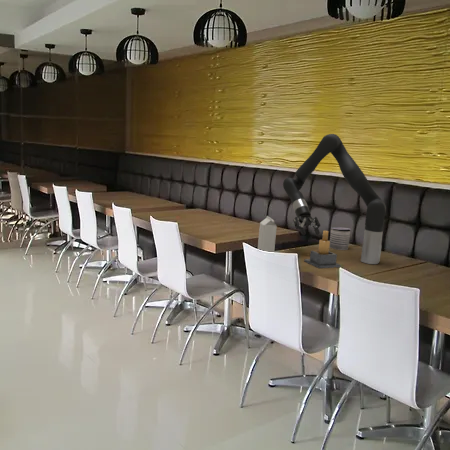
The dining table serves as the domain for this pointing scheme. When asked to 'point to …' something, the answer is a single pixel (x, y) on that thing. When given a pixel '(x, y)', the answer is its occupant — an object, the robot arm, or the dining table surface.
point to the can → (339, 238)
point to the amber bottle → (324, 244)
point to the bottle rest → (322, 260)
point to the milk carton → (267, 235)
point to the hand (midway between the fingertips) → (311, 234)
